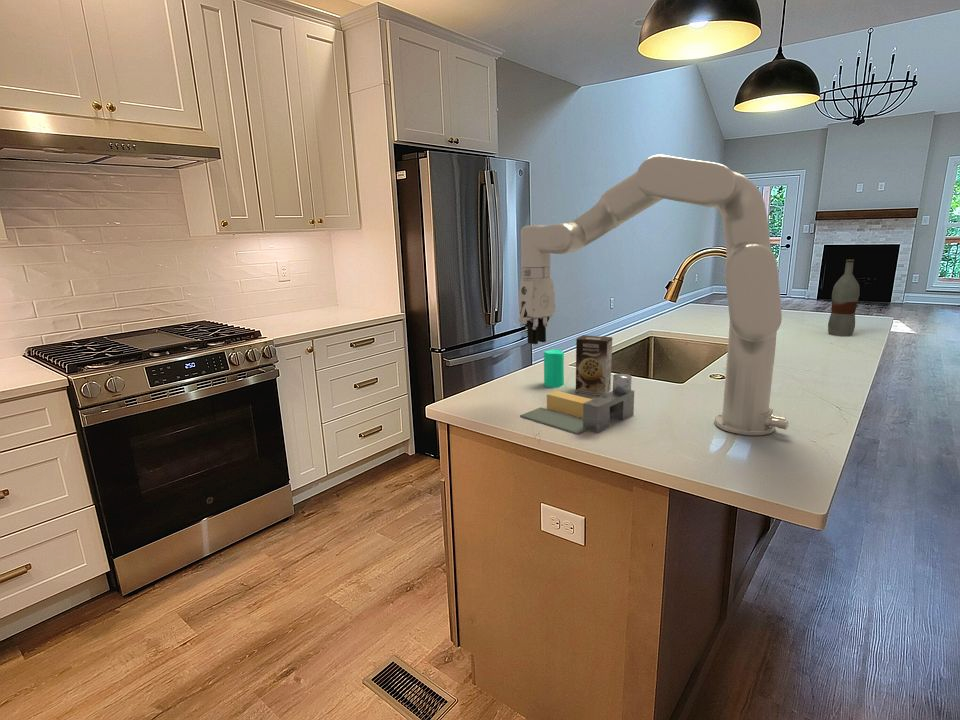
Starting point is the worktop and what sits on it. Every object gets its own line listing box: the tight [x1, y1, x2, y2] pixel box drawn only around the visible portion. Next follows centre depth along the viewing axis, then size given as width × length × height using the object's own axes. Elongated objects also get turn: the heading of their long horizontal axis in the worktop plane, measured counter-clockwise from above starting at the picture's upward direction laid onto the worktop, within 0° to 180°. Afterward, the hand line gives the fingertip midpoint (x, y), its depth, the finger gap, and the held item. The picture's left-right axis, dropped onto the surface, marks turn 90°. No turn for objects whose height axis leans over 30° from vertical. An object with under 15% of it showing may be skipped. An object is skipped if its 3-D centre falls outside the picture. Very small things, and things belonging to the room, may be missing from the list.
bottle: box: [827, 259, 861, 337], centre depth 207 cm, size 9×9×30 cm
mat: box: [520, 407, 588, 435], centre depth 129 cm, size 18×8×1 cm, turn 43°
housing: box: [582, 373, 635, 434], centre depth 126 cm, size 4×16×10 cm, turn 134°
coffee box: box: [575, 334, 613, 396], centre depth 149 cm, size 9×6×16 cm
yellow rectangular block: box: [546, 390, 593, 419], centre depth 134 cm, size 15×4×4 cm, turn 43°
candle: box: [543, 349, 565, 388], centre depth 158 cm, size 6×6×12 cm
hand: (536, 342), depth 139 cm, fingers open, 2 cm apart
